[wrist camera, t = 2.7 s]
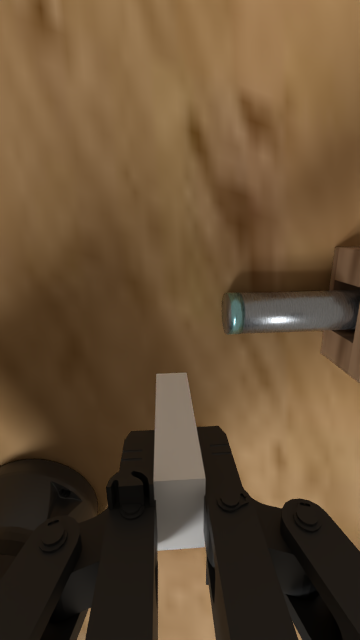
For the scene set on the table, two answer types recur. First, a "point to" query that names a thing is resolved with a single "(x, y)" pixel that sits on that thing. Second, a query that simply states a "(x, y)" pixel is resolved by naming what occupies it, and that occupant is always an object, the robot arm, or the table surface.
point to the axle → (290, 311)
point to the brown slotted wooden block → (356, 345)
